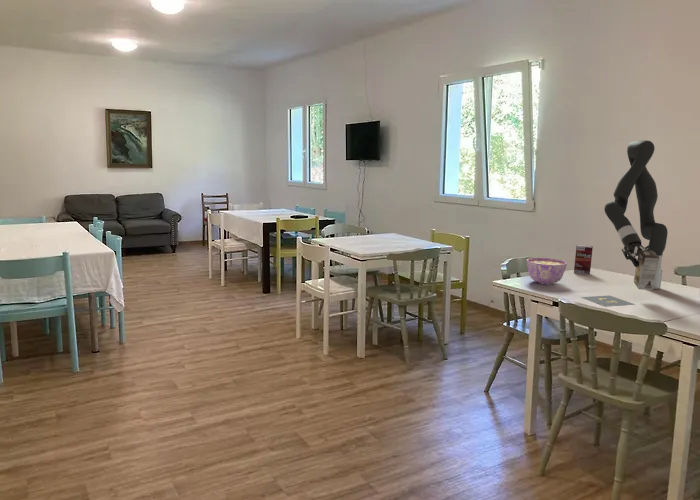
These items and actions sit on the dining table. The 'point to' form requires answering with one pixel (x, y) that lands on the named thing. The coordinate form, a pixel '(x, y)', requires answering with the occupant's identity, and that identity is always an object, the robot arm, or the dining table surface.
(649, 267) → the coffee box
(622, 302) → the mat
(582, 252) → the supplement box
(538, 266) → the bowl of food
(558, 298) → the dining table surface
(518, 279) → the dining table surface
